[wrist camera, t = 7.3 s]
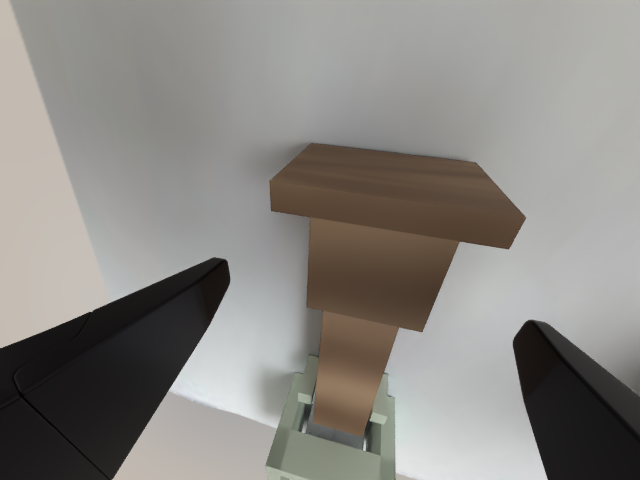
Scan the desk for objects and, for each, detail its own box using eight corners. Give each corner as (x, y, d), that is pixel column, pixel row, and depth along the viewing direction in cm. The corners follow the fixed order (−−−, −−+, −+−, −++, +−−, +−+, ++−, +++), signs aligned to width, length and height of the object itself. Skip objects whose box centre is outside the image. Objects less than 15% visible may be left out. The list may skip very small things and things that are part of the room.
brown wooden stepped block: (311, 143, 12) (269, 181, 8) (476, 162, 11) (526, 217, 7) (302, 370, 22) (281, 439, 18) (389, 392, 21) (388, 471, 17)
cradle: (403, 378, 20) (406, 491, 15) (376, 441, 26) (372, 538, 21) (295, 351, 21) (262, 447, 16) (294, 418, 28) (270, 503, 22)
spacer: (359, 487, 20) (351, 506, 23) (365, 417, 25) (357, 440, 27) (297, 467, 21) (295, 488, 24) (312, 402, 25) (310, 426, 28)
